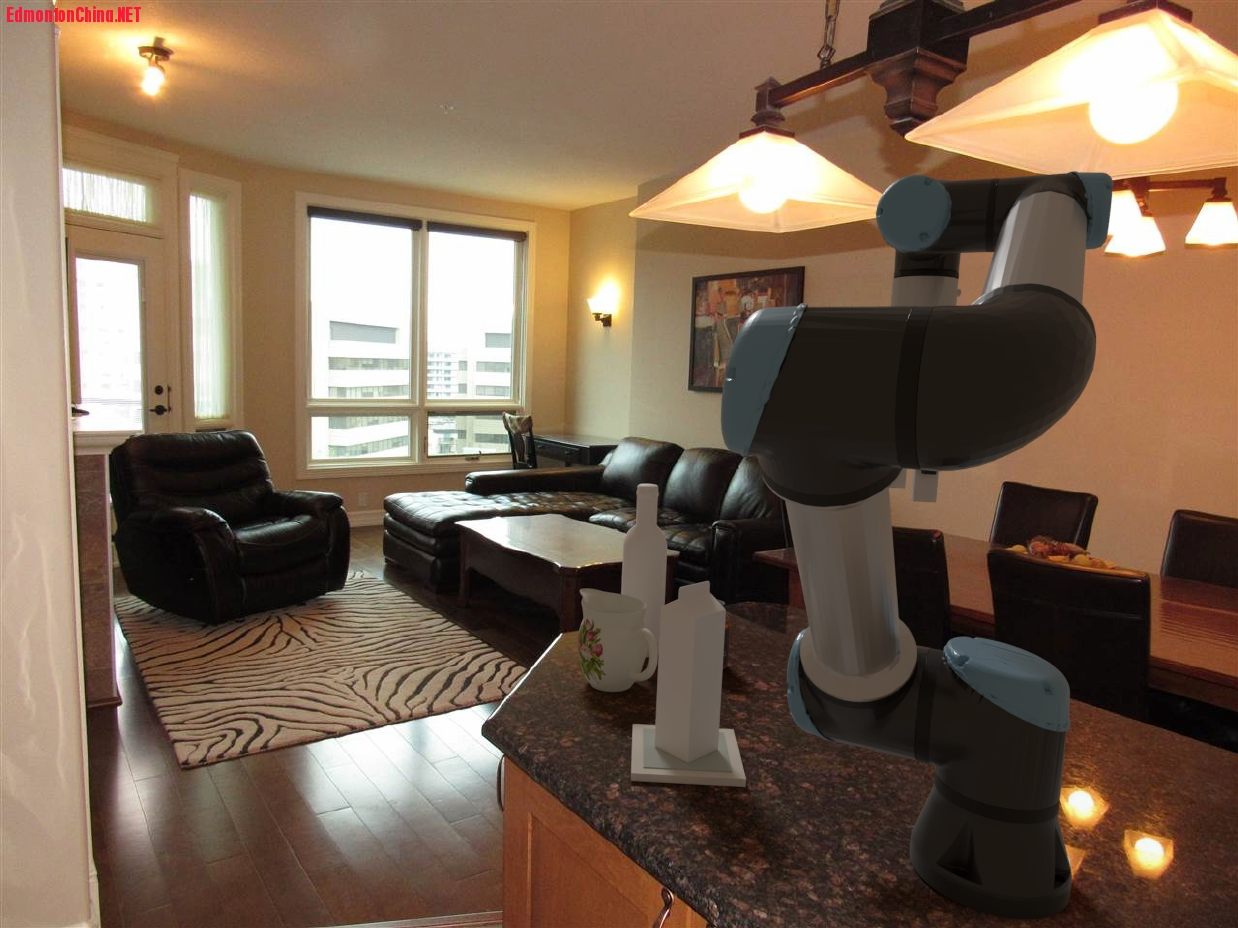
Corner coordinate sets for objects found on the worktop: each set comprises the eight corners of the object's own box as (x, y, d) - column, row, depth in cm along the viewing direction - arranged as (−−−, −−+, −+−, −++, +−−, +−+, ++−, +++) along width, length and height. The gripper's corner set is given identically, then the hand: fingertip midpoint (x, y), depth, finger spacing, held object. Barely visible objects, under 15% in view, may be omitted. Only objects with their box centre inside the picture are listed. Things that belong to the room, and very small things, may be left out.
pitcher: (626, 713, 120) (630, 622, 119) (553, 675, 134) (555, 593, 132) (679, 696, 127) (683, 610, 126) (605, 662, 141) (608, 583, 139)
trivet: (745, 786, 100) (746, 777, 100) (630, 780, 101) (631, 771, 101) (733, 735, 114) (733, 728, 114) (632, 730, 115) (632, 722, 115)
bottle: (634, 640, 153) (641, 480, 149) (671, 649, 148) (679, 485, 145) (609, 651, 146) (616, 484, 143) (647, 661, 142) (654, 489, 138)
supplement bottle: (711, 657, 145) (715, 595, 144) (735, 668, 140) (739, 603, 139) (685, 663, 142) (689, 599, 140) (709, 674, 137) (712, 608, 136)
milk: (718, 750, 107) (729, 585, 105) (687, 764, 103) (698, 593, 101) (683, 733, 112) (693, 575, 109) (652, 746, 108) (661, 582, 105)
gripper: (994, 309, 89) (975, 511, 91) (921, 322, 112) (908, 482, 114) (923, 306, 89) (907, 508, 91) (866, 320, 112) (854, 480, 114)
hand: (907, 494), depth 103 cm, fingers open, 11 cm apart
